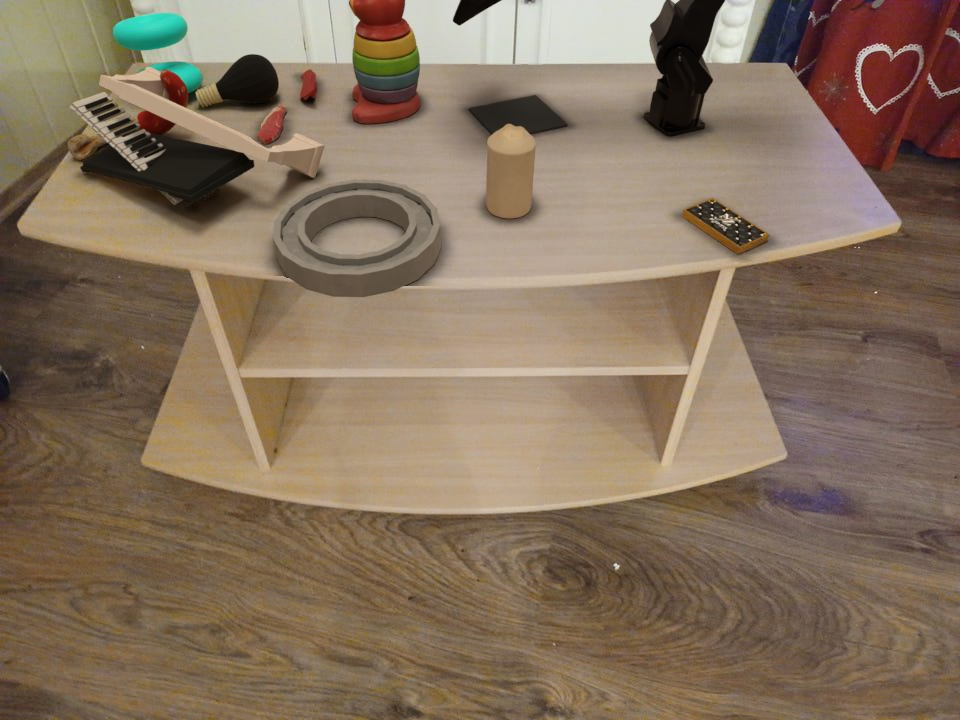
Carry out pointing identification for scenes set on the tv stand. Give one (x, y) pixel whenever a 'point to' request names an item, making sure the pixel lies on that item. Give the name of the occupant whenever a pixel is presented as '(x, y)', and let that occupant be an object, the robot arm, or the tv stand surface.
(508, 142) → the candle
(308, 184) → the tv stand surface
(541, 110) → the mat
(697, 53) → the robot arm
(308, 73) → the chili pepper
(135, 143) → the synthesizer keyboard
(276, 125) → the steak
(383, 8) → the stacking bear
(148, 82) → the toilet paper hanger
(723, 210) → the black flat block
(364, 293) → the mechanical component
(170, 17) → the donuts
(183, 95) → the vegetable
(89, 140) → the brown bone
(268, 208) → the tv stand surface
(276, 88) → the light bulb
